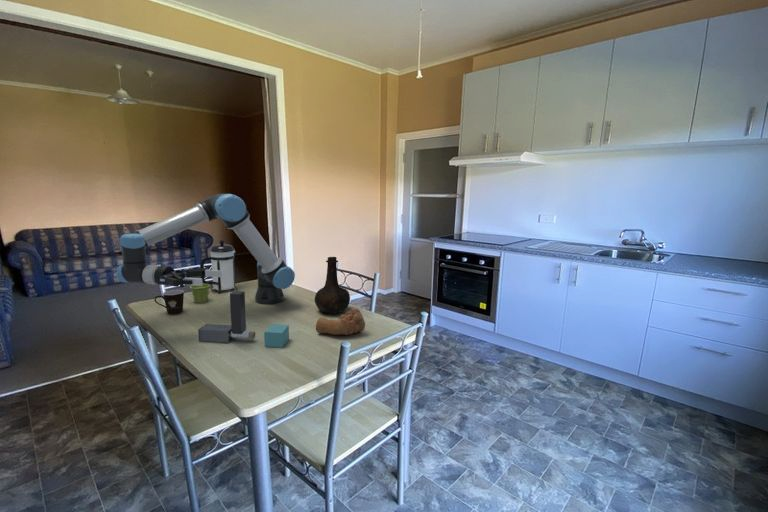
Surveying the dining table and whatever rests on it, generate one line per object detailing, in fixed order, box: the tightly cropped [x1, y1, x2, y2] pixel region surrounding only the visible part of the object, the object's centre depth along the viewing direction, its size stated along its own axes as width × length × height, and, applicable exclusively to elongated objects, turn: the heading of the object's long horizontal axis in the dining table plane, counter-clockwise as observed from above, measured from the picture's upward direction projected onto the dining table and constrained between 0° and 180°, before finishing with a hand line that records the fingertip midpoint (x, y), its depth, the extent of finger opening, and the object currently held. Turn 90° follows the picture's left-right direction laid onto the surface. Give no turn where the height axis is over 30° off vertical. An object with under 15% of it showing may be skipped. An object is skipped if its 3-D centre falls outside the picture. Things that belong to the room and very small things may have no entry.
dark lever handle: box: [229, 290, 256, 340], centre depth 137 cm, size 19×4×19 cm, turn 87°
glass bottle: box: [314, 256, 351, 314], centre depth 173 cm, size 18×18×28 cm
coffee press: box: [199, 239, 238, 294], centre depth 200 cm, size 17×16×30 cm
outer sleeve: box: [197, 323, 235, 344], centre depth 139 cm, size 12×6×5 cm, turn 87°
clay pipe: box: [315, 307, 366, 336], centre depth 149 cm, size 19×11×15 cm
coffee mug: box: [154, 289, 185, 315], centre depth 166 cm, size 12×9×10 cm
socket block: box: [263, 324, 290, 348], centre depth 137 cm, size 7×8×6 cm
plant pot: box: [189, 283, 211, 304], centre depth 182 cm, size 9×9×9 cm
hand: (212, 277), depth 134 cm, fingers open, 13 cm apart
